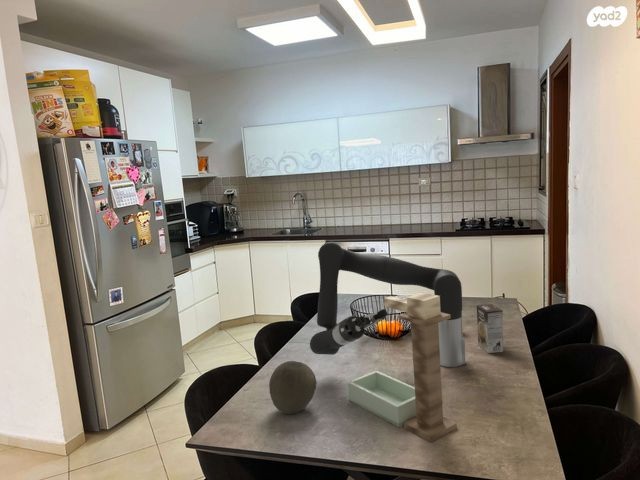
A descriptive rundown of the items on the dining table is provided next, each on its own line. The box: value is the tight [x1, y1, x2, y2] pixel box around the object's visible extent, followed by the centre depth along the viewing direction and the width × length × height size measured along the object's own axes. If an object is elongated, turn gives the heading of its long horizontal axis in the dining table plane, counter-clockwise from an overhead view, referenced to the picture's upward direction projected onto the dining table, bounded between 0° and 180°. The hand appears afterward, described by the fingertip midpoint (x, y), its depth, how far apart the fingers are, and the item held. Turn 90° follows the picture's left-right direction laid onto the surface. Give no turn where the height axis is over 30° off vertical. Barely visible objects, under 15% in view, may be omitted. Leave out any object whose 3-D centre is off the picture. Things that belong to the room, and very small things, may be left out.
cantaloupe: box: [268, 360, 317, 415], centre depth 146 cm, size 14×14×15 cm
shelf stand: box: [398, 312, 458, 443], centre depth 128 cm, size 10×10×32 cm
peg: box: [383, 292, 441, 320], centre depth 130 cm, size 17×6×5 cm, turn 35°
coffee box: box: [476, 303, 504, 354], centre depth 181 cm, size 9×6×16 cm
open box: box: [347, 370, 416, 428], centre depth 144 cm, size 22×12×6 cm, turn 35°
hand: (375, 315), depth 143 cm, fingers open, 8 cm apart
